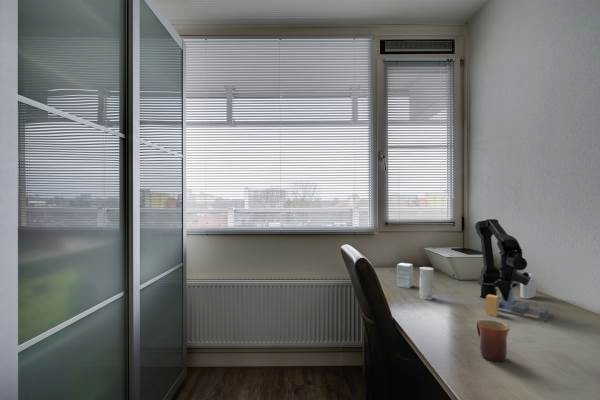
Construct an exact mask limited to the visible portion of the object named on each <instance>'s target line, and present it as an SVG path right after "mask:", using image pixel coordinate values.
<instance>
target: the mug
mask: <svg viewBox="0 0 600 400" xmlns="http://www.w3.org/2000/svg"><path fill="white" fill-rule="evenodd" d="M476 331H477V334H478V337H479V350H480V355H481V356H482V357H483V358H484V359H487V360H488V361H491V360H492V361H491V362H496V361H501V362H503V361H505V360H506V359H507V355H508V344H507V343H508V334H509V331H510V326H508V324H505V323H503V322H500V321H496V320H490V319H489V320H487V319H483V320H482V319H479V320H477V322H476Z"/></svg>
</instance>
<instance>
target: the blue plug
mask: <svg viewBox="0 0 600 400" xmlns="http://www.w3.org/2000/svg"><path fill="white" fill-rule="evenodd" d="M500 295H501V298H500V299H501V304H502V305H507V306H512V305H514V304H515V303H514V301H515V300H514V299H515V287H514V288H512V289H511V290H510V293H509V298H508V301H505V300H504V298H503V296H502V294H501V293H500Z"/></svg>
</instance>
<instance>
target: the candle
mask: <svg viewBox="0 0 600 400" xmlns="http://www.w3.org/2000/svg"><path fill="white" fill-rule="evenodd" d="M434 269H435V268H433V267H428V266H422V267H421V266H420V267H419V278H418V279H419V280H418V281H419V283H418V284H419V285H418V287H419V291H418V292H419V295H420V296H419V298H420V299H422V300H429V301H430V300H433V296H434V280H435V279H434Z"/></svg>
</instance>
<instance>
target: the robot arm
mask: <svg viewBox="0 0 600 400" xmlns="http://www.w3.org/2000/svg"><path fill="white" fill-rule="evenodd" d="M474 228H475V230H476V234H477V236H478V237H479V238H480V244H481V252H482V260H483V267H482V269H481V271H480V275H479V277H478V279H477V284H478V285H479V286H480V296H479V298H483V299H486V296H487V295H488V294H490V295H496V296H498V290H499V292H500V295H501V294H502V296H503V298H504V300H505V301H508V298H509V293H510V290H511V289H512V288H514V289H515V287H517V286H518V285H519V284H520V283H522V284H523V285H527V284H528V283H529V281H530V279H531V278H530V277H529V273H530V272H526V271H525V272H523V273H522V272H518V271H524V270H525V269H527V266H528V262H527V260H526V258H524V257H523V250H522V248H521V246H520V243H519V241H518V240H517V239H516V238H515V236H513V235H510V234H508V232H506V231H505V229H504V228H503V227H502V225H501V224H500V223H499V220H498V219H496V218H488V219H485V220H478V221H477V222H476V223H475V225H474ZM493 235H494V237H495V239H496V240H497V243H496V244H497V248H498V249H499V252H498V254H499V255H500V266H499V268H497V267H496V265H495V260H494V250H493V249H494V248H493V242H492V241H493V240H492V237H493ZM516 282H517V283H516ZM497 288H498V289H497Z"/></svg>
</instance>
